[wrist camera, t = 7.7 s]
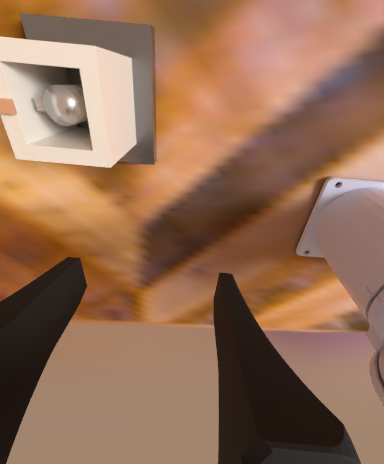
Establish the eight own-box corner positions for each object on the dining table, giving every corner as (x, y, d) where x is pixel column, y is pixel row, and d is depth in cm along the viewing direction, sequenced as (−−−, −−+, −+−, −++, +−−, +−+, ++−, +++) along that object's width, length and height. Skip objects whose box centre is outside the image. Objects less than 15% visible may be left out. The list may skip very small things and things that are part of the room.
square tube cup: (131, 58, 14) (91, 44, 9) (136, 143, 16) (108, 169, 12) (49, 50, 14) (-36, 32, 9) (68, 137, 16) (12, 160, 12)
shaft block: (154, 28, 14) (128, 1, 9) (156, 160, 18) (140, 187, 13) (30, 17, 14) (-58, -16, 9) (63, 152, 18) (16, 176, 13)
